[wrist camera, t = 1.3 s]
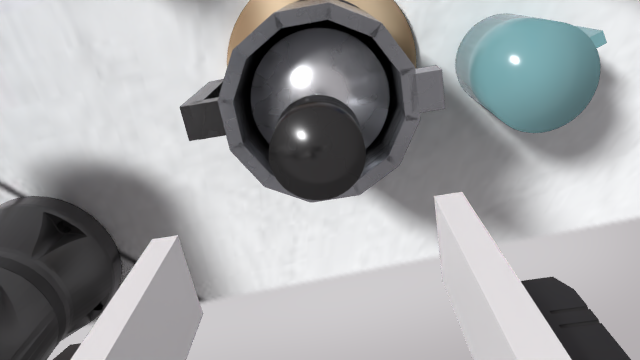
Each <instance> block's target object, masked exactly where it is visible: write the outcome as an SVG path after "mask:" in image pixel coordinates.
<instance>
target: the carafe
mask: <svg viewBox="0 0 640 360" xmlns="http://www.w3.org/2000/svg"><path fill="white" fill-rule="evenodd" d="M308 28H331V29H336V30H340V31H343V32H346V33H348V34H350V35H352V36H354V37H355V38H357V39H359V40H360V41H361V42H363V43H364V44H365V45H366V46H367V47H368V48H369V49H370V50H371V51H372V52H373V53H374V55H375V56H376V58H377V59H378V61H379V62H380V64H381V66H382V68H383V70H384V72H385V75H386V78H387V82H388V87H389V108H388V113H387V117H386V119H385V122H384V125H383V127H382V129H381V131H380V132H379V134H378V135H377V137H376V138H375V140H374V141H373V142H372V143H371V144H370V145H369V146H368V147H367V148H366V149H365V150H366V160H365V165H364V168H363V171H362V173H361V175H360V177H359V179H358V180H357V182H356V183H355V184H354V185H353V186H352V187H351V188H350V189H349V190H348V191H346V192H345V193H343V194H341V195H339V196H337V197H334V198H331V199H337V198H344V197H350V196H356V195H359V194H362V193H363V192H364V191H366V190H367V189H368V188H370V187H371V186H372V185H374V184H375V183H376V182H378V181H379V180H380V179H382V178H383V177H385V176H386V175H387V174H389V173H390V172H391V171H393V170H394V169H395V168H397V167H398V166H399V165H400V163H401V161H402V159H403V156H404V154H405V152H406V150H407V148H408V145H409V143H410V141H411V139H412V137H413V134H414V132H415V130H416V128H417V126H418V123H419V121H420V113H421V112H427V111H433V110H439V109H445V102H444V89H443V77H442V69H441V68H439V67H438V66H437V65H435V66H429V67H423V68H417V69H415V66H414V65H413V63H412V62H411V61H410V59H409V58H408V57H407V55H406V54H405V53H404V51H403V50H402V49H401V47H400V46H399V45H398V44H397V42H396V41H395V40H394V38H393V37H392V36H391V34H390V33H389V32H388V30H387V29H386V28H385V26H384V25H383V24H382V23H381V22H380V21H378V20H377V19H376V18H374V17H373V16H371V15H370V14H369V13H367V12H366V11H364V10H362V9H360V8H359V7H357V6H356V5H354V4H352V3H349V2H347V1H345V0H298V1H296V2H294V3H290V4H288V5H286V6H284V7H283V8H281V9H279V10H277V11H276V12H274V13H272V14H271V15H270V16H269V17H268V18H267V19H266V20H265V21H264V22H263V23H261V24H260V25H259V26H258V27H257V28H256V29H255V30H254V31H253V32H252V33H250V34H249V35H248V36H247V37H246V38H245V39H244V40H243V41H242V42H241V43H239V44H238V45H237V46H236V47H235V48H234V49H233V50H232V53H231V56H230V60H229V63H228V67H227V70H226V74H225V77H224V79H221V80H216V81H211V82H208V83H207V84H206V85H205V86H204V87H203V88H201V89H200V90H199V91H198V92H197V93H196V94H194V95H193V96H192V97H191V98H190V99H188V100H187V101H186V102H185V103H184V104H183V105H181V106H180V110H181V114H182V117H183V121H184V124H185V128H186V131H187V135H188V138H189V141H192V140H198V139H199V140H200V139H206V138H212V137H218V136H224V135H226V136H227V140H228V144H229V148H230V150H231V152H232V153H233V154H234V155H235V156H236V157H237V158H238V159H239V160H240V161H241V163H242V164H243V165H244V166H245V167H246V168H247V169H248V170H249V171H250V172H251V173H252V174H253V175H254V176H255V177H256V178H257V179H258V180H259V182H260V183H261V184H262V185H263V186H265V187H267V188H270V189H272V190H275V191H278V192H281V193H284V194H287V195H290V196H293V197H296V198H299V199H302V200H305V201H308V202H318V201H324V200H308V199H304V198H300V197H298V196H295V195H294V194H292V193H290V192H289V191H287V190H286V189H285V188H284V187H283V186H282V185H281V184H280V183H279V182H278V181H277V179H276V178H275V176H274V174H273V172H272V170H271V167H270V163H269V145H270V144H269V143H268V142H267V140H266V139H265V138H264V137H263V135H262V134H261V132H260V130H259V129H258V126H257V124H256V122H255V119H254V116H253V112H252V106H251V87H252V82H253V78H254V75H255V72H256V70H257V67H258V66H259V64H260V62H261V60H262V59H263V58H264V56H265V55H266V54H267V52H268V51H269V50H270V49H271V48H272V47H273V46H274V45H275V44H276V43H278V42H279V41H280V40H281V39H283V38H285V37H286V36H288V35H290V34H292V33H295V32H297V31H300V30H304V29H308ZM331 199H327V200H331Z"/></svg>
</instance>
